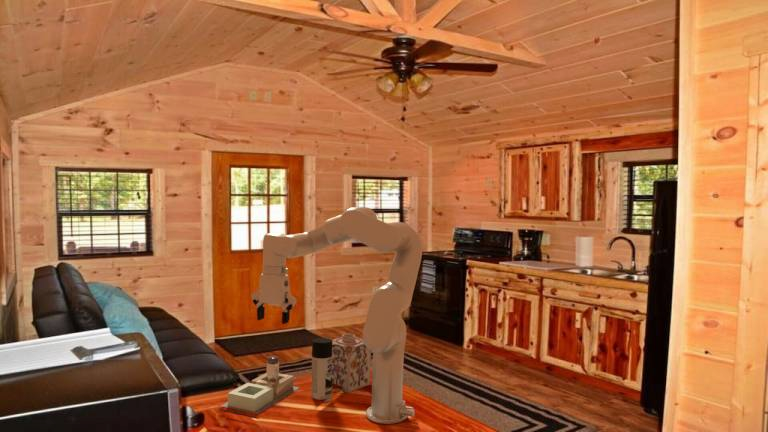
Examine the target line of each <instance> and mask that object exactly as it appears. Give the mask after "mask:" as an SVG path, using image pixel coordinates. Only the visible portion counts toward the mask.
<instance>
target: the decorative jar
mask: <svg viewBox="0 0 768 432" xmlns="http://www.w3.org/2000/svg"><path fill="white" fill-rule="evenodd" d="M371 361H372V352H371V351H369V350H368V349H367V348H366V346H365V344H364V342H363V338H360V337H356V334H353V333H344V334H342V336H341V337H338V338H335V339H333V340H332V385H333V384H334V385H335V386H339V387H341V388H340V389H339V391H342V392H343V393H346V394H350V393H352V392H355V391H357V390H361V389H362V388H365V387H367V386H369V385H371V374H372V371H371V370H372V366H371V365H372V362H371Z"/></svg>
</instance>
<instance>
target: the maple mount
mask: <svg viewBox="0 0 768 432" xmlns="http://www.w3.org/2000/svg"><path fill="white" fill-rule="evenodd" d="M250 383H252V384H257V385H262V386H267V387H272V388H273V397H275V398H277V397H279V396H280V395H282V394H284V393H285V392H287V391H288V390H290V389H292V388H293V386H294V375H291V374H290V375H289V374H284V373H280V372H279V381H277V382H275V383H274V382H269V381H267V372H265V373H263V374H262V375H259V376H257V377H256V378H254V379H252V380H251V381H250Z"/></svg>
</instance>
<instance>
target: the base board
mask: <svg viewBox="0 0 768 432" xmlns="http://www.w3.org/2000/svg"><path fill="white" fill-rule="evenodd" d="M299 389H300V386H294V385H293V388H292V389H290V390H288V391H287V392H285V393H284V394H282V395H280V396H279V397H277V398H275V397H273V400H272V401H271V402H269V403H268V404H266V405H264V406H263V407H261V408H260V409H258V410H256V411H255V412H254V411H249V410H245V409H240V408H236V407H231V406H228V401H226V402H225V403H222V404H221V405H220V407H224V408H227V409H232V410H233V409H234V410H237V411H242V412H247V413H250V414H255V415H260V414H261V413H262V412H264V411H266V410H267V409H269V408H270V407H272V406H273V405H275V404H277V403H278V402H280V401H281V400H283V399H284V398H286V397H288V396H289V395H291V394H293V392H295V391H297V390H299ZM219 411H220V412H225V413H230V414H234V415H237V416H238V415H239V416H243V417H247V418H252V419H255V420H258V419H260V417H258V416H257V417H256V416H252V415H248V414H244V413H243V414H242V413H239V412H234V411H231V410H230V411H229V410H225V409H222V408H221V409H219Z"/></svg>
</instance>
